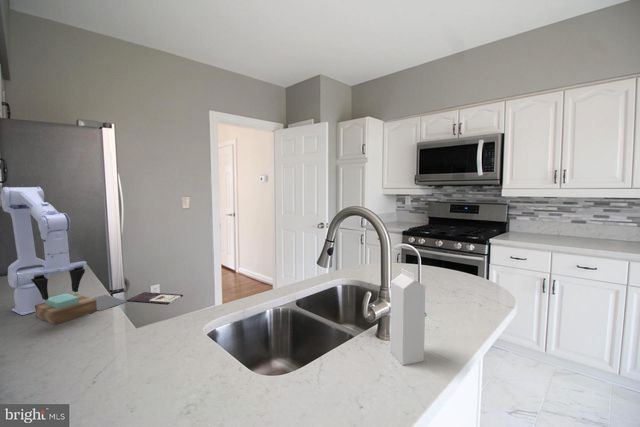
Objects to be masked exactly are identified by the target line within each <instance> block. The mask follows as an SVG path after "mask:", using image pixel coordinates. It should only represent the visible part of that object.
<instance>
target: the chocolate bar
mask: <svg viewBox="0 0 640 427" xmlns="http://www.w3.org/2000/svg"><path fill="white" fill-rule="evenodd" d="M182 297H184V295H183V294H177V293H175V294H174V293H161V292H150V291H149V292H147V291H146V292H145V291H144V292H141V293H140V294H137V295H135V296H133V297H130V298H128V299H126V300H125V301H128V302H127V303H139V304H141V303H142V304H153V305H167V306H168V305H170V304H171V303H174V302H175V301H177V300H178V299H180V298H182Z"/></svg>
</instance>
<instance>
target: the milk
mask: <svg viewBox="0 0 640 427" xmlns="http://www.w3.org/2000/svg"><path fill="white" fill-rule="evenodd" d="M425 315H426V285H424V284H422V283H420V282H418V281H416V275H415V273H414V272H411V271H409V270H407V269H405V268H403V267H402V268H401V269H400V273H399V274H398V275H397V276H396V277H395V278H393V279H392V280H390V323H389V324H390V328H389V329H390V334H389V335H390V336H389V338H390V339H389V340H390V341H389V342H390V343H389V344H390V345H389V346H390V347H389V348H390V349H389V350H390V352H389V353H390V354H391V355H392V356H393V357H394V358H395V359H396V360H397V361H398V362H399V363H400V364H401V365H402V366H407V365H412V364H417V363H420V362H421V363H422V362H424V361H425V325H426V324H425V319H426V316H425Z"/></svg>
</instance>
